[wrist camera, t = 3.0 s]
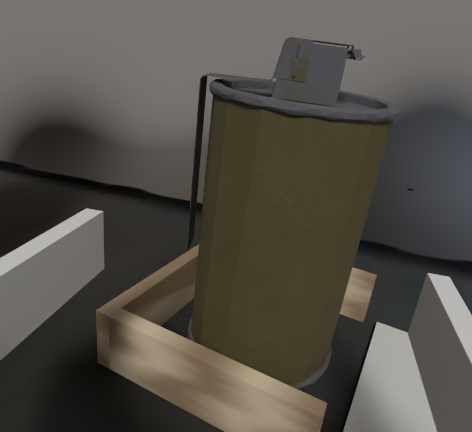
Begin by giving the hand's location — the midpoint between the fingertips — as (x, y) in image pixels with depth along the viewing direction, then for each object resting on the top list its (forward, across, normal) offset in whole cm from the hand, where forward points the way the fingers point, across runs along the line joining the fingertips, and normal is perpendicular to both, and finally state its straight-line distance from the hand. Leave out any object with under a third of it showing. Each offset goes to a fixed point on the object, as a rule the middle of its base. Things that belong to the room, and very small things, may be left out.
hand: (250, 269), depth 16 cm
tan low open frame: (+10, 0, -11) cm, 15 cm away
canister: (+10, 0, -11) cm, 15 cm away
